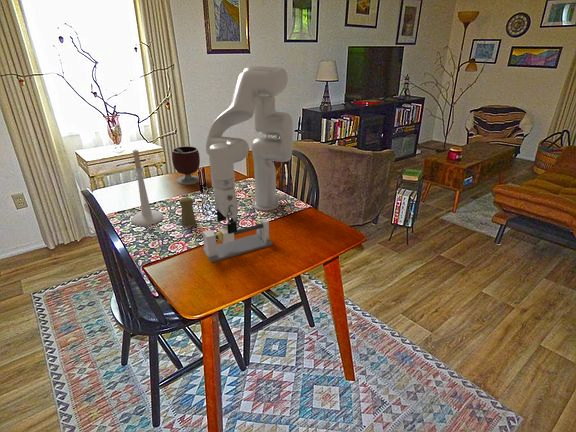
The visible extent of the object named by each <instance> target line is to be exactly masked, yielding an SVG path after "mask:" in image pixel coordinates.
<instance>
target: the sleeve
mask: <svg viewBox="0 0 576 432" xmlns="http://www.w3.org/2000/svg"><path fill="white" fill-rule="evenodd" d="M218 232H221V234H222V236H223V240H222V241H221V242H222V243H228V242H232V241H234V240H235V235H234V233H231V234H228V229H227V226H224V227H221V228H218Z"/></svg>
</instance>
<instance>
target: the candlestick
mask: <svg viewBox="0 0 576 432" xmlns="http://www.w3.org/2000/svg"><path fill="white" fill-rule="evenodd" d="M132 153H133V154H132V155H133V160H134V164H135V166H134V167H133V169H135V172H136V175H137V182H138V183H137V185H138V190H139V191H138V192H139V199H140V201H139V202H140V207H141V208H140V209H141V211H140V212H137V213H136V214H134V215H133V216H132V217H131V219H130V222H131V224H132V225H135V226H138V227H139V226H141V227H145V226H147V225H148V226H153V225H156V224H158V223H160V222H162V221H163V219H164V214H163V213H162V212H160V211H159V210H155V209H151V206H150V201H149V197H148V193H147V189H146V185H145V180H144V176H143V171H144V170H143V168H144V166H143V165H142V164H141V159H140V153H139V150H138V149H134V150H132ZM152 224H153V225H152Z"/></svg>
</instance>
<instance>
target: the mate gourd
mask: <svg viewBox="0 0 576 432" xmlns="http://www.w3.org/2000/svg"><path fill="white" fill-rule="evenodd" d="M171 151H172V152H171V159H172V164H173V167H174V169H175V170H176V171H177V172H178V173H179V174H182V175H183V176H180V177H178V178H176V182H177V183H178V184H180V185H194V184H197V183H199V182H200V181H199V180H198V177H199V175H192V174H194V173H196V172H197V171H198V170H199V168H200V165H201V164H200V163H201V158H200V152H199V148H198V147H195V146H193V145H182V146H176V147H175V148H172V150H171Z"/></svg>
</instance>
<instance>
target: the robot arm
mask: <svg viewBox="0 0 576 432" xmlns="http://www.w3.org/2000/svg"><path fill="white" fill-rule="evenodd" d="M288 77H289V76H288V72H287V71H286V69H285V68H284V67H279V66H263V65H262V66H260V65H259V66H257V65H256V66H253V65H252V66H246V67H245V68H244V69H243V72H241V73H240V74H239V75H238V77H237V80H236V83H235V87H234V90H233V93H232V94H233V95H232V97H231V100H230V101H231V102H230V103H229V107H228V108H226V110H224V111H223V112H222V113H221V114H220V115H219V116H218V117H217V118H215V120H214V121H213V122H212V124H211V125H210V128H209V130H208V133H207V134H208V135H207V138H206V143H205V151H206V153H207V155H208V158H209V159H208V160H209V168H210V169H209V170H210V177H211V187H212V189H213V196H214V198H213V199H214V205H215V211H216V219H217V222H218V223H219V222H224V221H226V220H227V223H226V227H227V229H228V234H231V233H234V232H237V230H238V224H237V222H238V219H237V218H238V214H239V209H238V207H239V206H238V200H237V193H236V190H235V186H236V180H235V167H234V165H235V164H236V163H239V162H242V161H243V160H245V159H246V158H247V157H248V154H249V152H250V151H249V150H250V147H251V153H252V154H251V155H252V159H253V169H254V170H253V173H254V199H253V200H252V202H251V207H252V208H253V209H255V210H257V211H261V212H262V211H263V212H264V211H265V212H266V211H267V212H269V211H273V210H277V208H279V206H280V202H279V201H280V200H284V199H286V196H285V194H282V195H280V193H276V192H277V188H276V187H277V185H276V184H277V171H276V170H277V169H276V165H275V164H274V162H282V163H284V162H286V163H287V162H289V161H290V160H291V159H292V157H293V155H292V154H293V139H294V138H293V135H294V134H293V133H294V122H293V118H292V116H291V114H290V113H288V112H283V111H276V97H277V96H279V94H281V93H283V92H284V90H286V88H287V85H288V81H289V80H288V79H289V78H288ZM253 117H254V128H255V129H254V130H255V131H256V132H257V133H258V134H260V135H267V136H258V137H256V138H254V140H252V141H251V142H252V143H251V146H250V145H249V143H248V142H247V140H245V139H243V138H239V137H231V136H229V137H228V136H223V135H224V133H225V132H226V131H227V130H228V129H230V128H231V127H233V126H236V125H238V124H241V123H243V122H247V121H249V120H250V119H252V118H253ZM268 135H269V136H277V138H275V137H268ZM278 136H279V137H278ZM249 146H250V147H249ZM273 161H274V162H273ZM230 217H231V218H230Z"/></svg>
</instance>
